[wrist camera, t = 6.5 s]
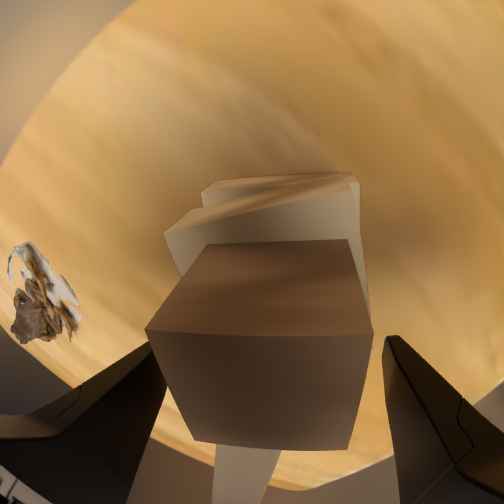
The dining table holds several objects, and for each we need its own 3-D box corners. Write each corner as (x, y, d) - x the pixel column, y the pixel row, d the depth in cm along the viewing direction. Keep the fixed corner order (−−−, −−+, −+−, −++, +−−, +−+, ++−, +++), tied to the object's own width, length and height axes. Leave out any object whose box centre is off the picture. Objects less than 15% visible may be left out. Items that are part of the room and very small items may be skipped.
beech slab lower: (349, 170, 15) (359, 182, 12) (348, 287, 17) (354, 317, 15) (218, 179, 16) (200, 192, 13) (235, 290, 19) (224, 319, 16)
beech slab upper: (341, 173, 12) (352, 189, 9) (363, 309, 14) (372, 349, 12) (190, 210, 14) (162, 233, 11) (235, 329, 16) (222, 367, 14)
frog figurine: (71, 362, 27) (53, 384, 24) (2, 283, 24) (-19, 301, 21) (112, 323, 22) (89, 353, 19) (24, 220, 20) (-7, 237, 16)
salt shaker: (214, 402, 24) (169, 532, 12) (277, 400, 22) (250, 548, 11) (235, 435, 26) (204, 547, 14) (291, 434, 24) (273, 556, 13)
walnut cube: (347, 239, 10) (373, 333, 5) (341, 348, 12) (347, 449, 7) (207, 244, 11) (144, 329, 6) (227, 347, 13) (194, 440, 8)
